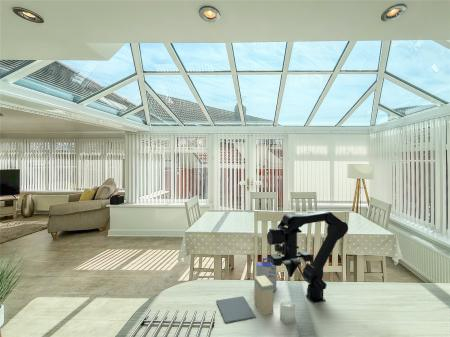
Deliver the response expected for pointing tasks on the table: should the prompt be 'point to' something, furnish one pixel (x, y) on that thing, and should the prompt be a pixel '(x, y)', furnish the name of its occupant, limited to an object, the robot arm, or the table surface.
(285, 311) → the white rounded cylinder
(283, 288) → the table surface
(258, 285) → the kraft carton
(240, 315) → the mat
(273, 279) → the product box
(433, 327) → the table surface
